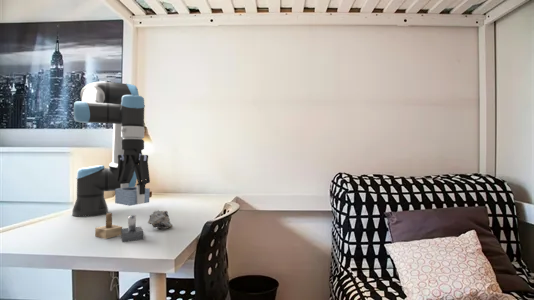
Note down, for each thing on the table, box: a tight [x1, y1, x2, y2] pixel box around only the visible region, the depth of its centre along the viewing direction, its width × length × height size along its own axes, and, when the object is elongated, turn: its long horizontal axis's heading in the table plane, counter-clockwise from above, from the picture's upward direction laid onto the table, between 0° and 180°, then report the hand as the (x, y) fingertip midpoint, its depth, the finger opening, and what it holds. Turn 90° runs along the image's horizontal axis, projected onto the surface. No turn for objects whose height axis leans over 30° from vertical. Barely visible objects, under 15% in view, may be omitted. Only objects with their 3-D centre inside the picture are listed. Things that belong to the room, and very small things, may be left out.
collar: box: [114, 186, 151, 207], centre depth 109 cm, size 8×8×5 cm
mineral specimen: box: [147, 209, 174, 230], centre depth 124 cm, size 10×8×10 cm
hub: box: [120, 214, 145, 243], centre depth 109 cm, size 7×7×8 cm
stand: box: [94, 212, 123, 240], centre depth 113 cm, size 6×6×8 cm
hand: (132, 202), depth 109 cm, fingers closed on collar, 8 cm apart
